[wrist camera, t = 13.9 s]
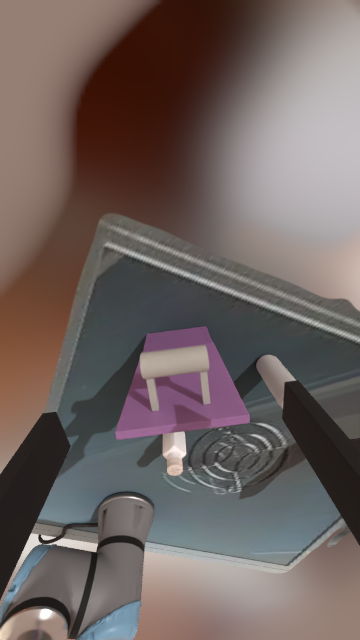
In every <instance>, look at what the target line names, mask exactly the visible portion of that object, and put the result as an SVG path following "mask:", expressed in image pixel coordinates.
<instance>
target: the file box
mask: <svg viewBox="0 0 360 640" xmlns="http://www.w3.org/2000/svg"><path fill="white" fill-rule="evenodd" d="M207 343H213V342H212V339H211V337H210V334H209V332H208V329H207V327H206V326H204V327H196V328H188V329H181V330H173V331H165V332H157V333H150V334H147V336H146V340H145V345H144V350H143V352H145V351H153V350H160V349H168V348H176V347H184V346H191V345H199V344H207Z"/></svg>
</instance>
